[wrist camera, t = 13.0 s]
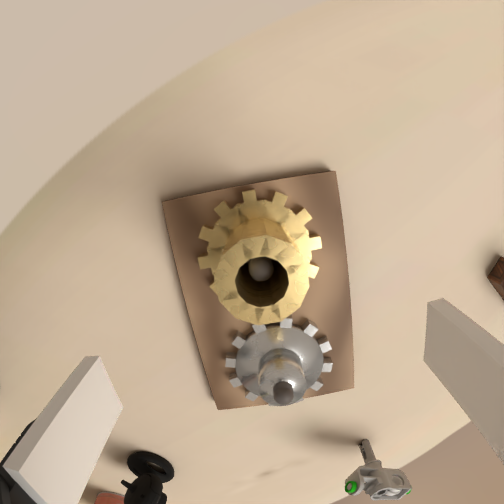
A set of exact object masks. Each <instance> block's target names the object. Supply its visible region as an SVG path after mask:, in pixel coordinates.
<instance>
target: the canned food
mask: <svg viewBox="0 0 504 504" xmlns="http://www.w3.org/2000/svg"><path fill="white" fill-rule="evenodd" d="M124 497H125V496H124V495H121V494H117V493H113V492H100V493H99V494H98V495H97V499H96V501H95V503H94V504H124Z"/></svg>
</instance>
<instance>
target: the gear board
mask: <svg viewBox="0 0 504 504" xmlns="http://www.w3.org/2000/svg"><path fill="white" fill-rule="evenodd" d="M253 189H255V193H256V198H257V200H261V199H266V200H269V201H271V200H272V198H273V195H274V192H275V191H277V192H279V193H282V194H285V195H287V196H288V197H287V200H286V203H285V205H284V206H285V207H288V208H290V209H291V210H292V212H293V213H296V212H297V211H298V210H299V209H301V208H302V207H304V208H305V209H306V211H307V212H308V213H309V214H310V216H311V217H312V219H311V220H309V221H308V222H307V223H306V224H305V225H304V226H305V228H306V229H307V230H308V233H309V235H314V234H318V235H319V236H320V238H321V246H322V248H321V249H315V250H311V254H312V258H311V261H310V262H313V263H315V264H317V265H318V267H319V269H318V272H317V274H316V276H315V279H314V278H311V277H309V276H308V279H309V288H308V290H307V293H306V295H305V297H304V300H303V302H302V304H301V306H300V308H298V309H297V310H296V311H295V312H293V313H292V318H293V320H292V324H296V325H299V326H301V327H302V325H303V324H304V323H305V322H306V320H307V319H309V320H311V321H312V322H314V323H315V324H316V325H317V327H318V331H317V332H316V333H315V334H314V336H315V338H316V339H319V338H322V337H324V336H327V339H328V341H329V344H330V346H331V348H332V350H329V351H327V352H325V353H323V357H331V360H332V362H333V365H332V369H331V372H321V374H320V376H319V377H320V378H322V381H323V384H324V385H323V386H322V387H321V388H320V389H319V390H318V391H315V390H313V389H312V388H309V389H307V390H306V392H305V394H304V395H303V398H309V397H314V396H319V395H324V394H329V393H333V392H338V391H343V390H347V389H351V388H354V359H353V334H352V315H351V300H350V287H349V275H348V264H347V254H346V245H345V236H344V228H343V219H342V212H341V204H340V197H339V190H338V183H337V177H336V171H328V172H321V173H314V174H308V175H301V176H294V177H288V178H282V179H276V180H270V181H264V182H258V183H252V184H247V185H241V186H236V187H231V188H225V189H220V190H215V191H210V192H205V193H200V194H195V195H190V196H186V197H181V198H176V199H172V200H167V201H164V202H162V205H163V210H164V215H165V219H166V224H167V228H168V233H169V237H170V242H171V246H172V250H173V255H174V259H175V263H176V267H177V271H178V275H179V279H180V283H181V287H182V291H183V295H184V299H185V302H186V306H187V310H188V313H189V317H190V321H191V324H192V328H193V331H194V335H195V338H196V342H197V345H198V349H199V352H200V355H201V359H202V362H203V365H204V369H205V372H206V375H207V378H208V381H209V385H210V388H211V391H212V394H213V397H214V400H215V403H216V406H217V409H218V410H223V409H233V408H242V407H250V406H258V405H266V404H268V403H267V402H266V401H264V400H263V399H262V397H261V396H258V397H257V398H256V399H255V400H254V401H251V400H249V399H247V398H245V390H246V388H245V387H244V386H243V385H240V386H237V387H233V386H232V384H231V383H230V381H229V376H230V374H231V373H234V372H236V364H235V368H232V367H225V365H226V354H227V352H232V353H236V354H237V350H238V348H237V347H236V346H234V345H232V344H231V343H232V338H233V336H234V335H235V334H236V332H237V331H240V332H242V333H243V334H245V335H246V336H247V335H248V334H249V333H250V332H252V331H253V330H254V329H253V327H252V323H249V322H246V321H242V320H239V319H236V318H235V317H234V316H233V315H232V314H231V313H230V312H229V311H228V310H227V309H226V308H225V307H224V306H223V305H222V304H221V303H220V302H219V298H218V295H217V294H216V293H215V292H214V291H213V290H212V289H211V288H210V287H209V286H210V283H211V282H212V281H213V280H214V276H213V274H212V270H211V268H206V269H200V266H199V262H198V256H199V255H200V254H205V253H208V252H207V247H208V244H209V242H208V241H205V240H203V239H200V238H199V235H200V232H201V229H202V226H203V225H204V224H205V225H208V226H211V227H214V226H215V223H216V222H217V221H218V220H219V219H220V218H221V217H220V216H219V215H218V214H217V213H216V212H215V211H214V209H215V208H216V207H217V206H218V205H219V204H220V203H221V202H223V201H224V200H225V201H226V202H227V203H228V205H229V206H230V207H231V208H233V207H234V206H235V205H236V204H238V203H244V200H243V194H242V191H247V190H253ZM274 261H275V259H272V258H269V257H266V256H262V257H256V258H251V259H249V260H248V261H247V262H246V263H247V264H248V265H249V272H250V275H251V276H252V278H253V279H255V280H257V281H266V280H268V279H269V278H270V277H271V276H272V274H273V271H274V267H273V262H274ZM275 323H277V322H275ZM269 324H270V323H269ZM317 341H318V340H317ZM273 395H274V400H275V401H276V402H277V403H278V404H280V405H287V404H289V403H290V402H291V401H292V400H293V397H294V393H293V387H292V385H291V384H290V383H289V382H286V381H281V382H278V383H276V384H275V385H274V387H273Z"/></svg>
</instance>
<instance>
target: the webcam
mask: <svg viewBox="0 0 504 504" xmlns="http://www.w3.org/2000/svg"><path fill="white" fill-rule="evenodd" d="M147 461H148V462H152V463H155V464H157V465H159V466H160V467H162V468H163V469H164V470H165V474H162V473H159V472H157V471H156V470H154V469H153V468H151V467H150V466H149V465H148V464H147ZM127 464H128V467H129V469H130V470H131V471H132V472H133V473H134V474H135V475H136V476H138V478H137V479H135V480H134V481H133V483H132V484H130V483H128V482H126V481H124V480H122V481H121V484H123V485H124V486H125V487H127V488H128V489H127V492H126V494H125V497H124V504H166V501H167V496H166V494H165V493H163V492H162V489H163V485H162V483H165V482H168V481H170V480H171V479H172V478H173V477H174V469H173V467H172V465H171V464H170V463H169V462H168V461H166V460H165V459H164V458H162V457H160V456H158V455H155V454H152V453H147V452H137V453H134V454H132V455H130V456H129V458H128V461H127Z"/></svg>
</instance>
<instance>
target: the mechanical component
mask: <svg viewBox="0 0 504 504" xmlns="http://www.w3.org/2000/svg"><path fill="white" fill-rule="evenodd" d="M359 447H360V450H361V453H362V456H363V459H364V462H365V465H364V466H360V467H358V468H357V469H356V470H355V471H354V472H353V473H352V474H351V475H350V476H349V477H348V478H347V479H346V480H345V484H346V485H345V491H346V492H348V494H349V495H358V494H359V493H360V492H361V491H362V490H365V493H366V494H370V497H371V499H372V500H399V499H400V498H401V497H403V496H404V495H405V494H409V493H410V491H411V489H412V487H411V485H410V483H409V480H408V479H407V477H406V475H405V474H404V472H402V471H401V470H399V469H388V468H382V466H381V461H380V460H376V458H375V456H374V453H373V450H372V448H371V445H370V443H369V440H363V441H362V445H359ZM364 482H366V483H364ZM385 494H387V495H389V496H387V495H385Z"/></svg>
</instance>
